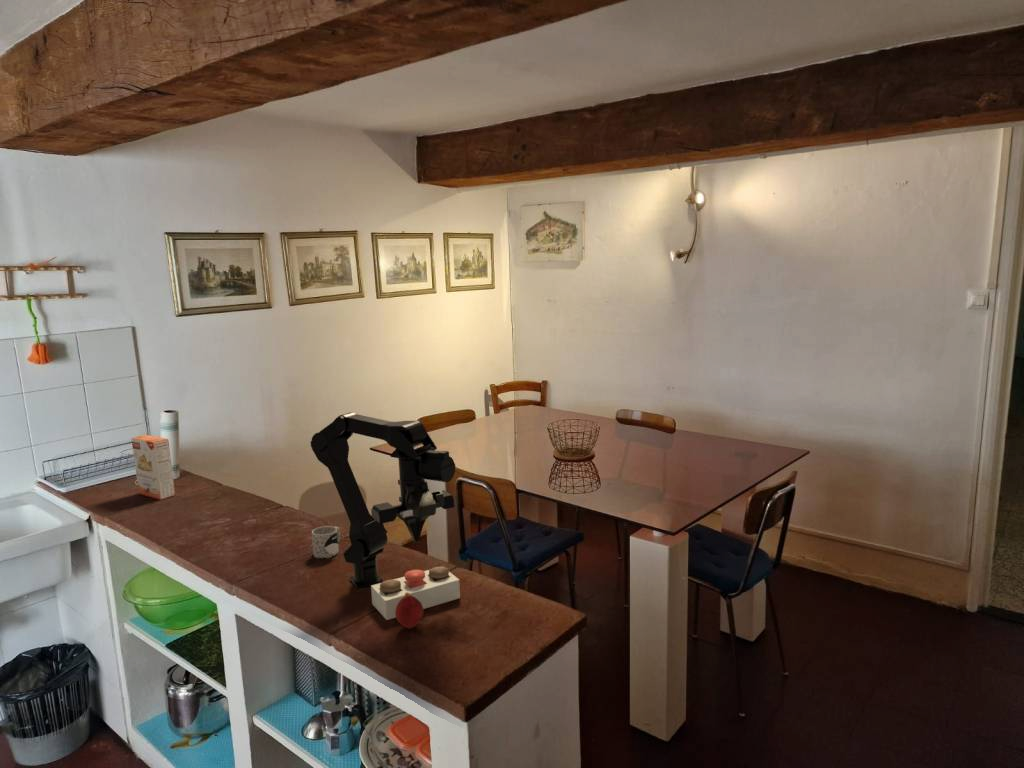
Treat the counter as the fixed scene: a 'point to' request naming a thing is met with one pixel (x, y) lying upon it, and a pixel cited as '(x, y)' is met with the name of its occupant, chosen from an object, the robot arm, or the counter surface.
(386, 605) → the jig
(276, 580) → the counter surface
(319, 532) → the mug
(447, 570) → the walnut plunger far
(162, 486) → the cracker box
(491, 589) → the counter surface
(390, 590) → the walnut plunger near
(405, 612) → the onion
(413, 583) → the red plunger
